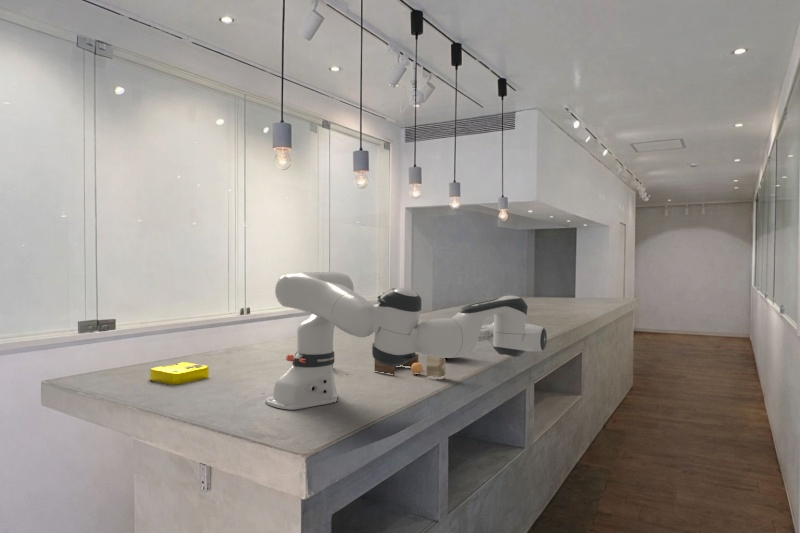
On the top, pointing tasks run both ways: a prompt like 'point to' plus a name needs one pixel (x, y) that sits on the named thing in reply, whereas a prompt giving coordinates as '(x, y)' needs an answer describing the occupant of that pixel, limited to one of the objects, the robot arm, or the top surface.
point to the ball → (416, 368)
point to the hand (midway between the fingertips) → (465, 330)
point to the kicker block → (435, 366)
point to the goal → (390, 369)
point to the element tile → (179, 373)
